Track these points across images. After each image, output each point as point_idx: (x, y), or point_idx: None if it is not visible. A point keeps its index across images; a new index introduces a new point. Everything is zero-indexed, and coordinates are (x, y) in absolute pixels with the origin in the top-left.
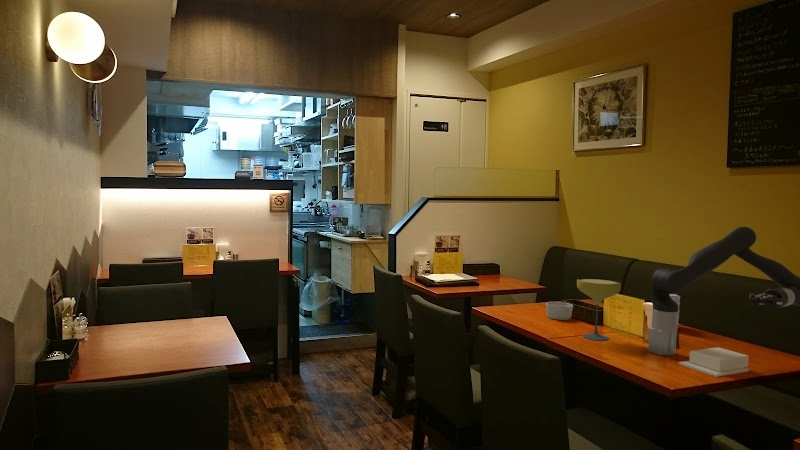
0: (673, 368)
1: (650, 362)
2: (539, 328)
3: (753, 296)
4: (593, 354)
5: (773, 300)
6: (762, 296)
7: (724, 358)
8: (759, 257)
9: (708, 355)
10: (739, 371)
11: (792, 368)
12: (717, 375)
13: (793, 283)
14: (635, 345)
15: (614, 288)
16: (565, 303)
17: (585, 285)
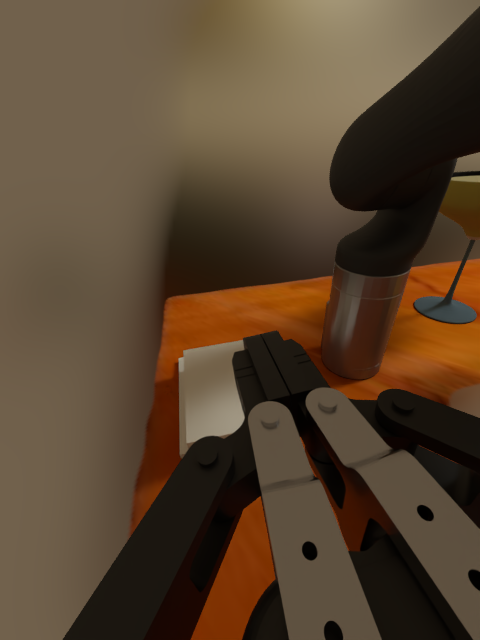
0: (239, 330)
1: (274, 318)
2: (469, 272)
3: (377, 404)
4: (315, 283)
5: (130, 554)
6: (415, 563)
7: (190, 364)
8: None
9: (219, 350)
10: (179, 418)
11: None
12: (179, 361)
13: None
14: (401, 341)
15: (446, 193)
16: None
17: None
